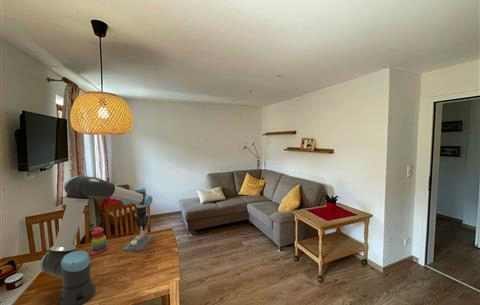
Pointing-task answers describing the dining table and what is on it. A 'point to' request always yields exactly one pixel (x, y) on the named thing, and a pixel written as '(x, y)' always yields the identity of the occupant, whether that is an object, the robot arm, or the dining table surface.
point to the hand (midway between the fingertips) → (142, 234)
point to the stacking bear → (98, 241)
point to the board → (138, 244)
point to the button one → (133, 242)
